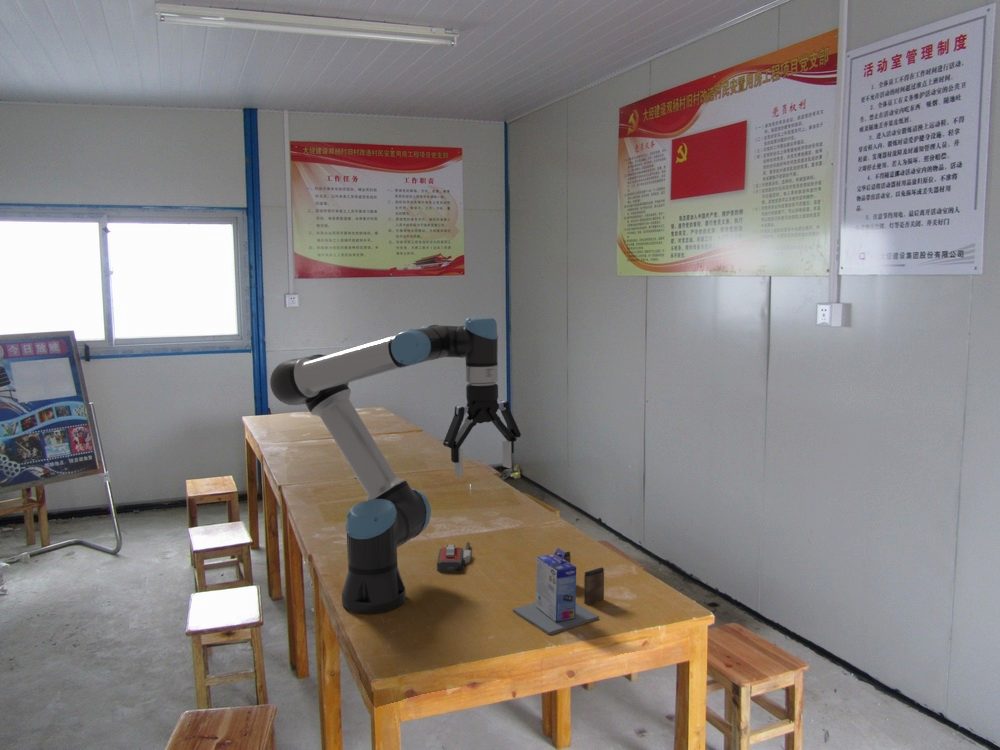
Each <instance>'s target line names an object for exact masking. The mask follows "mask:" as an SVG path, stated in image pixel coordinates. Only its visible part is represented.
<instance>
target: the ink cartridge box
mask: <svg viewBox="0 0 1000 750" xmlns="http://www.w3.org/2000/svg"><path fill="white" fill-rule="evenodd" d="M565 552H566V551H564V550H562V549H560V548H559V547H557V549H556V550H555V552H554V553H551V554H545V555H540V556H536V571H535V573H536V574H535V602H536V607H537V608H539V609H540V610H541V611H543V612H544V613H545V614H546V615H548V616H549V617H550V618H551V619H553V620H554V621H555V622H558V621H563V620H569V619H575V614H576V604H577V603H576V600H577V566H576V565H574V564H573V563H569V562H568V561H566V560H564V559H563V558H564V556H565V554H566V553H565ZM557 554H561V555H562V557H559V556H558V555H557Z"/></svg>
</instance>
